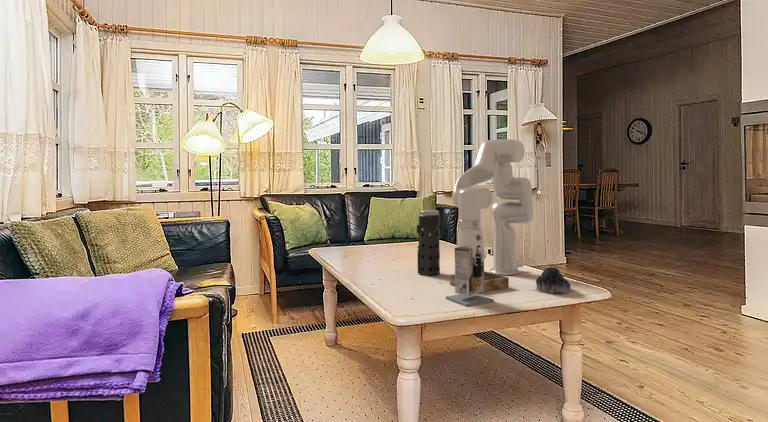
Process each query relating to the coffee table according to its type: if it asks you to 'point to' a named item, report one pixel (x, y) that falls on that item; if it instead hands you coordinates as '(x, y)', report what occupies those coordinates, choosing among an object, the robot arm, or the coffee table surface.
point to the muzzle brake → (429, 243)
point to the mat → (469, 299)
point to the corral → (489, 281)
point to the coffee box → (467, 273)
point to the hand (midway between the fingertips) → (469, 274)
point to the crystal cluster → (552, 282)
